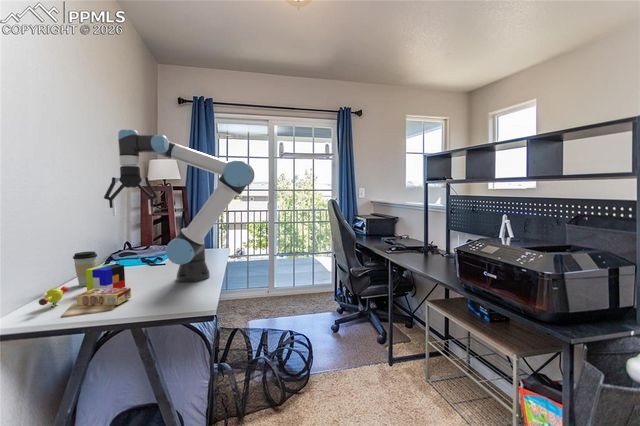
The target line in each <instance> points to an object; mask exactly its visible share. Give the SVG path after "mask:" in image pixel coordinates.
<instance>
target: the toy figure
mask: <svg viewBox="0 0 640 426" xmlns="http://www.w3.org/2000/svg"><path fill="white" fill-rule="evenodd" d="M68 291H69V287H67V286H62V287H60V288H50V289H49V290H47V291H46V292H44V293H43V294H42V295H43V297H44V298H43V297H42V298H40V299H39V301H38V304H39V305H40V306H45V305H47V304H48V303H51V304H52V305H51V306H50V308H56V307H57V306H58V302H60V301H61V300H62V299H63V298H64V297H63V296H64V293H67V292H68Z"/></svg>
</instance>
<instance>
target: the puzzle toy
mask: <svg viewBox="0 0 640 426" xmlns="http://www.w3.org/2000/svg"><path fill="white" fill-rule="evenodd" d="M125 274H126V273H125V265H124V264H102V265H98V266H96V267H94V268H90V269H86V283H87V286H86V291H89V290H91V289H104V288H126V277H125Z"/></svg>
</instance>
